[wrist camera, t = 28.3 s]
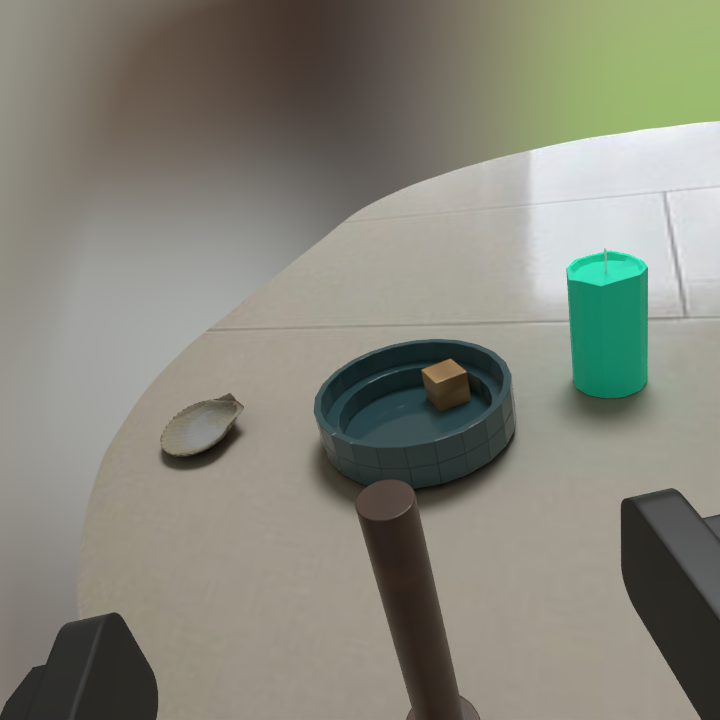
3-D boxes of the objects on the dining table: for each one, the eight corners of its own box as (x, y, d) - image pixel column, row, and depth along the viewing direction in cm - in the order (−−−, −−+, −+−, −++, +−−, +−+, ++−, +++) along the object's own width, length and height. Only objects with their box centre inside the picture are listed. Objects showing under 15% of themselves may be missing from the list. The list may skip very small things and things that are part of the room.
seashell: (170, 452, 62) (175, 477, 55) (153, 427, 61) (156, 449, 54) (242, 407, 64) (256, 426, 57) (227, 382, 63) (239, 398, 56)
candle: (578, 360, 58) (571, 236, 52) (650, 363, 55) (650, 232, 49) (567, 396, 53) (558, 265, 48) (644, 401, 50) (644, 262, 45)
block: (441, 412, 54) (435, 383, 53) (426, 397, 57) (420, 369, 55) (471, 400, 55) (467, 371, 53) (455, 386, 57) (450, 357, 56)
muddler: (423, 804, 28) (346, 548, 21) (402, 729, 31) (329, 483, 24) (498, 777, 29) (448, 516, 21) (470, 705, 32) (418, 456, 24)
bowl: (353, 523, 45) (339, 474, 43) (310, 415, 59) (298, 374, 57) (554, 450, 47) (550, 401, 45) (466, 363, 62) (460, 322, 60)
